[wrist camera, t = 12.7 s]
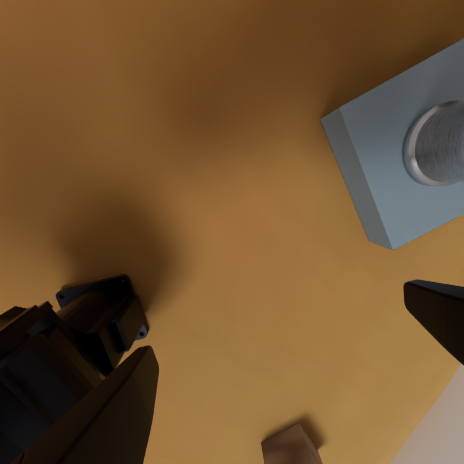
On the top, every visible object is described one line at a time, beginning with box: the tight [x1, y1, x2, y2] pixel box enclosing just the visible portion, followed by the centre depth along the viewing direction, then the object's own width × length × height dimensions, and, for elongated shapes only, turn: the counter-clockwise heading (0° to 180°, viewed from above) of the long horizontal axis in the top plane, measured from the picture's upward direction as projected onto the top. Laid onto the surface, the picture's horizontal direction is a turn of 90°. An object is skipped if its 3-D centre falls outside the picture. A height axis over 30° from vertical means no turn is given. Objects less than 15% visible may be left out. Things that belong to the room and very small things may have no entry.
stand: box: [320, 39, 464, 250], centre depth 18 cm, size 12×12×3 cm
